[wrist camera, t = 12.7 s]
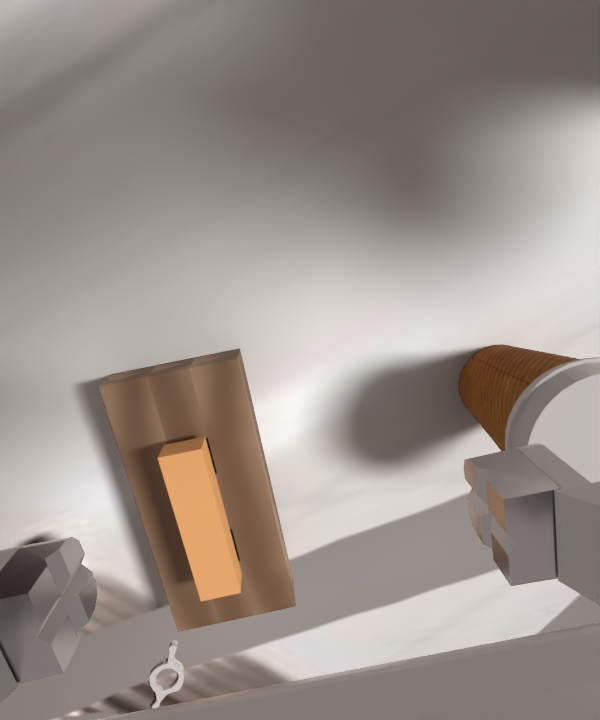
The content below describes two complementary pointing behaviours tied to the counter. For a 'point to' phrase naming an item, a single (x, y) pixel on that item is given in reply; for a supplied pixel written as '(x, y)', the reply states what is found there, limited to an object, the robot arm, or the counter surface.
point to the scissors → (165, 664)
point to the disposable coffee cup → (537, 402)
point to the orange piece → (201, 517)
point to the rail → (232, 469)
